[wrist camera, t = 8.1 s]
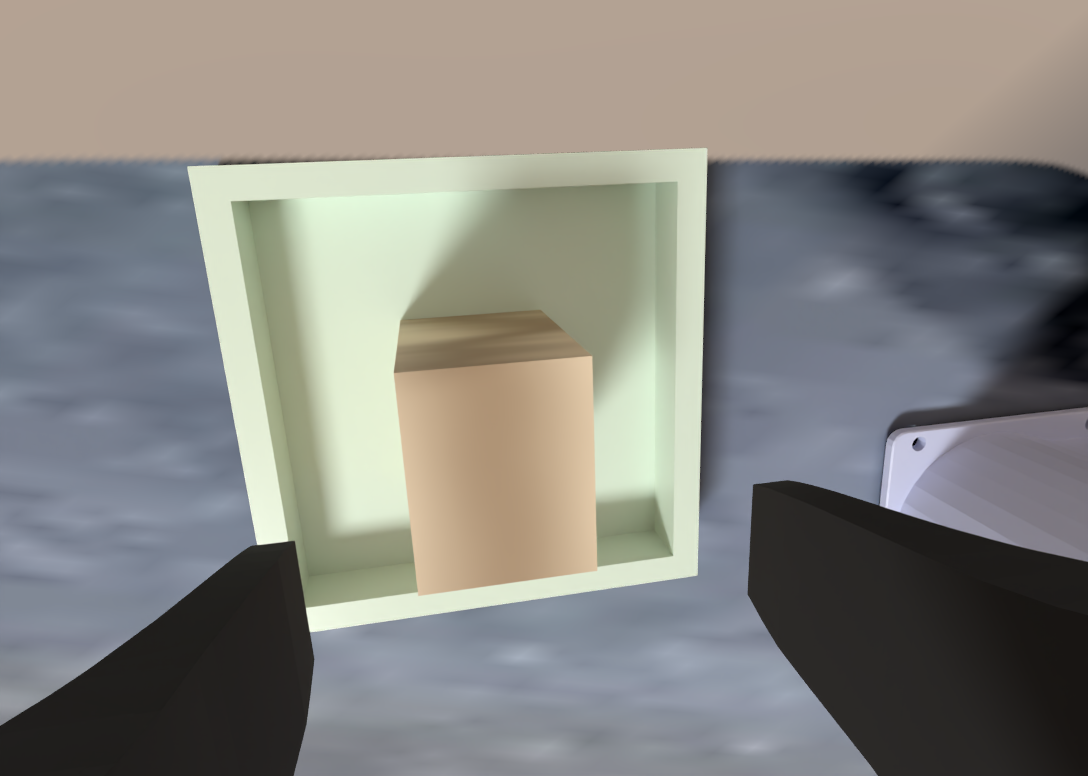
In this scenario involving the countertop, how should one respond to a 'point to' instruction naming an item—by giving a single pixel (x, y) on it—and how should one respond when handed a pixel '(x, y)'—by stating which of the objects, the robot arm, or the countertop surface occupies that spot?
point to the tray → (441, 291)
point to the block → (496, 449)
